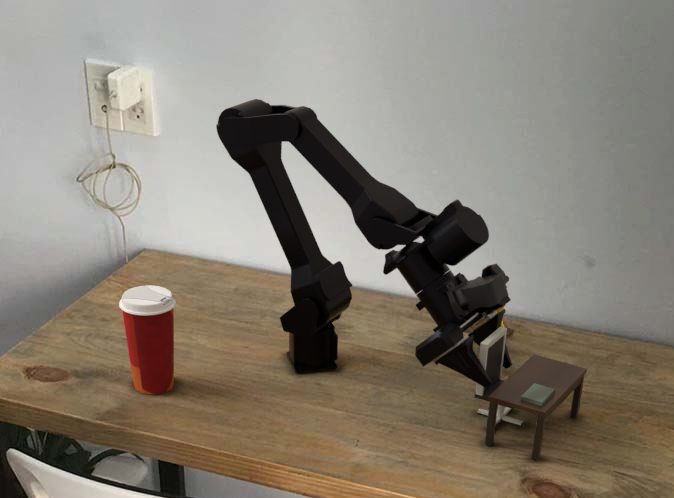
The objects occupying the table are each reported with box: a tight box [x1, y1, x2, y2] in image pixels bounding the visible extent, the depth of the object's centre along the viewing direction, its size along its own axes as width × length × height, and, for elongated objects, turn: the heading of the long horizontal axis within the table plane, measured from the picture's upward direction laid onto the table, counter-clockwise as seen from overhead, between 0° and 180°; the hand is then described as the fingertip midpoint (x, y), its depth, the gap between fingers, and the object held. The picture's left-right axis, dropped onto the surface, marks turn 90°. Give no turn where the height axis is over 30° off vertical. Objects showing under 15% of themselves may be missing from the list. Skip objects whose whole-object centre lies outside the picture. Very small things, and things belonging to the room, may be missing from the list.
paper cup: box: [118, 284, 177, 395], centre depth 157 cm, size 8×8×14 cm
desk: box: [484, 353, 588, 462], centre depth 153 cm, size 8×15×8 cm, turn 150°
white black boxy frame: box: [474, 326, 525, 428], centre depth 153 cm, size 7×7×12 cm
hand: (499, 376), depth 153 cm, fingers closed on white black boxy frame, 6 cm apart
